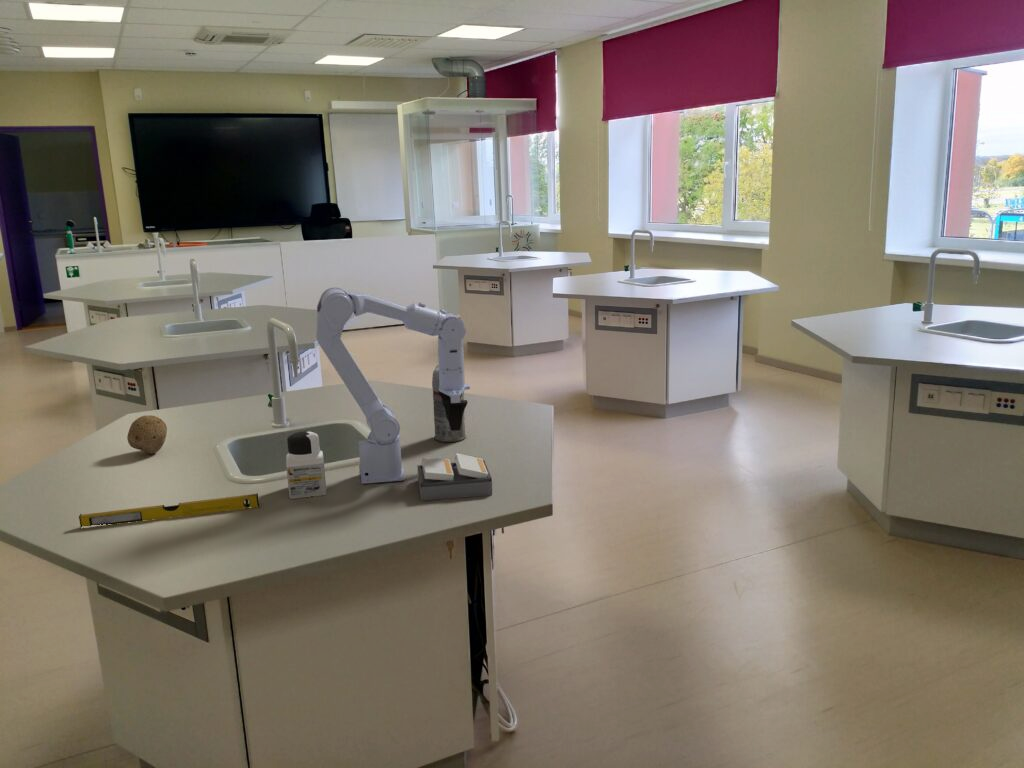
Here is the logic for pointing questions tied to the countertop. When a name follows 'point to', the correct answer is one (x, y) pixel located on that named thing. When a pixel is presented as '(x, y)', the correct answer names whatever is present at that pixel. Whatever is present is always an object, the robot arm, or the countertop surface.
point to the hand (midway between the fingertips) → (453, 425)
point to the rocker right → (470, 466)
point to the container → (305, 466)
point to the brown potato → (147, 434)
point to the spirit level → (169, 510)
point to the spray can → (444, 415)
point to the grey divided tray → (453, 486)
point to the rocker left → (437, 469)
